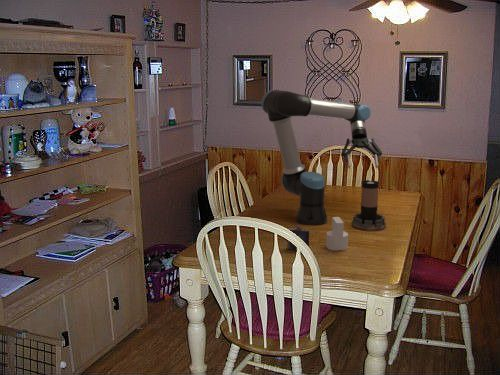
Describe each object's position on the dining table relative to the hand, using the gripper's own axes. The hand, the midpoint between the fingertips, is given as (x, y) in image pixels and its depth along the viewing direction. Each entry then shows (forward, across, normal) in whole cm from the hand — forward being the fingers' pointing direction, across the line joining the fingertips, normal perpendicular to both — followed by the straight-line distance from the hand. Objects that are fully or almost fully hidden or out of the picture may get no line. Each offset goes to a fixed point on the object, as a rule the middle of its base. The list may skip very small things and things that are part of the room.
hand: (363, 167), depth 271 cm
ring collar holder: (+29, 0, -6) cm, 30 cm away
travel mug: (+28, 0, -5) cm, 29 cm away
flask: (+52, +36, +18) cm, 65 cm away
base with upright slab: (+50, +19, +15) cm, 55 cm away
